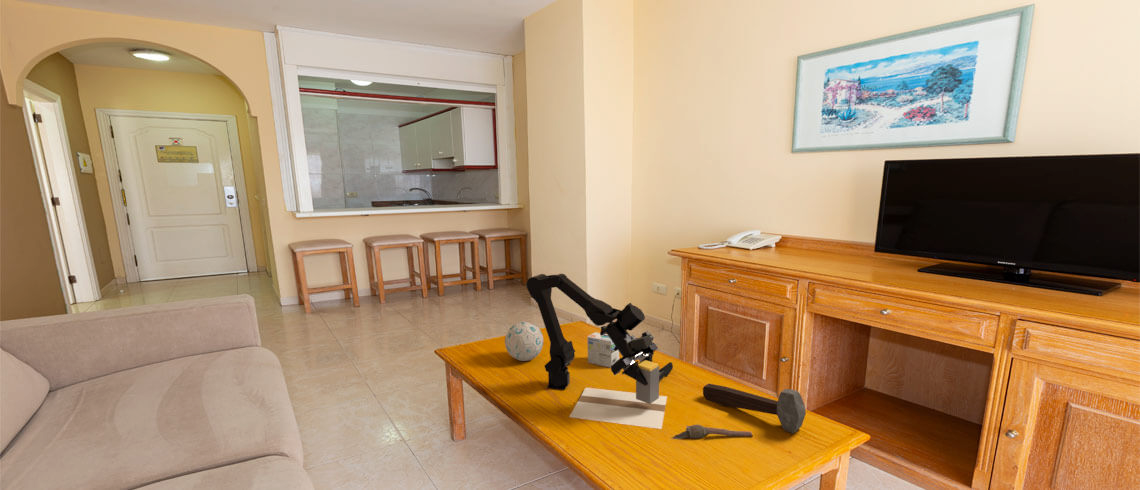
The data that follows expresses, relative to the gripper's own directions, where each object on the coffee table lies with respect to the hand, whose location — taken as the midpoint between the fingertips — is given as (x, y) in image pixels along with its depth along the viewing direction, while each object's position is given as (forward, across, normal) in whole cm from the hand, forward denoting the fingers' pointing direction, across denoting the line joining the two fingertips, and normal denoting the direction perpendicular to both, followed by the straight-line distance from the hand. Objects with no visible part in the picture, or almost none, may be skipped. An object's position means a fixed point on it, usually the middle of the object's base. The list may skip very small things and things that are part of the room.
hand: (651, 381), depth 140 cm
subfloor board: (+1, -5, +12) cm, 13 cm away
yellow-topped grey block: (+3, 0, +5) cm, 6 cm away
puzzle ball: (-36, +4, +50) cm, 61 cm away
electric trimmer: (0, +24, +14) cm, 28 cm away
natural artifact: (+22, -2, -8) cm, 23 cm away
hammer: (+24, +17, -10) cm, 31 cm away
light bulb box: (-17, +21, +31) cm, 41 cm away
